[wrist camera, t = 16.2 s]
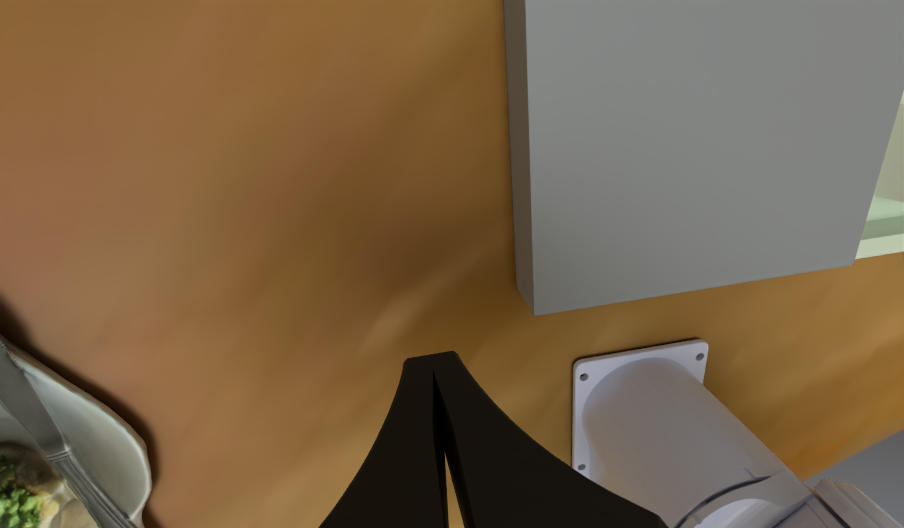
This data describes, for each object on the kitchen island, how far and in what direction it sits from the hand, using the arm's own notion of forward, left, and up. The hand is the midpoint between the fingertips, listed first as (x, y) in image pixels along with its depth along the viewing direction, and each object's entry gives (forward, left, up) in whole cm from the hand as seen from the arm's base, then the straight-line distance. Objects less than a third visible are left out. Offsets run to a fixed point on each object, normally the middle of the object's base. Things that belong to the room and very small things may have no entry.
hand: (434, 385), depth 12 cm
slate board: (+5, -13, -10) cm, 17 cm away
